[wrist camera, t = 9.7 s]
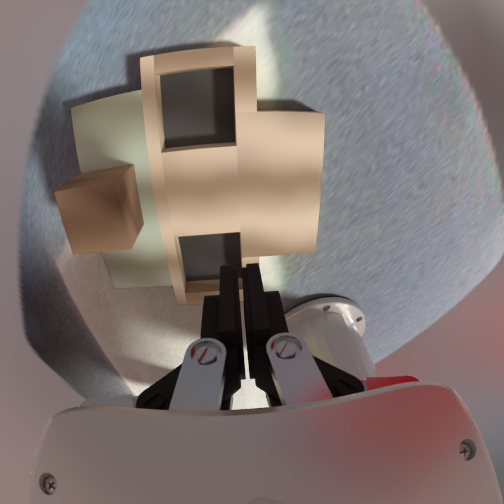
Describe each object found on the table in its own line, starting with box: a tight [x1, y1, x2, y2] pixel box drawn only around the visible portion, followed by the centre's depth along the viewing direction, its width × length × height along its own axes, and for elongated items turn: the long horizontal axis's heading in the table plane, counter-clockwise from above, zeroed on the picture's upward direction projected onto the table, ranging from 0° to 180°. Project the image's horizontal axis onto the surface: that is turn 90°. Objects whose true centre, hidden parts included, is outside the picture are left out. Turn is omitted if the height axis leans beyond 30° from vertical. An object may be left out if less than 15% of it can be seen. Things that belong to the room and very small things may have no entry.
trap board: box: [71, 46, 325, 305], centre depth 21 cm, size 22×19×2 cm
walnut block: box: [54, 165, 144, 254], centre depth 18 cm, size 5×5×4 cm
